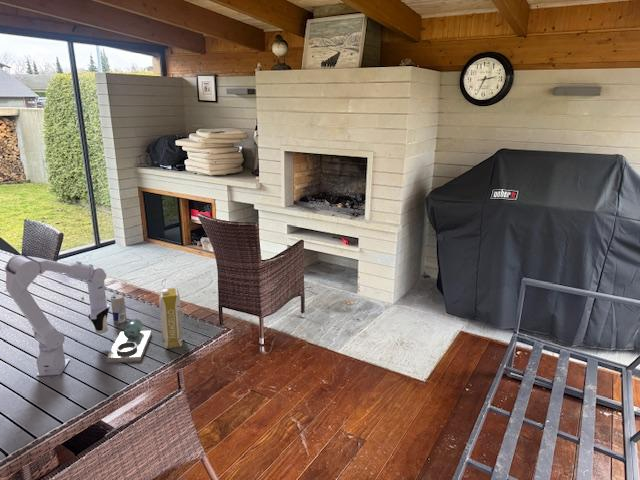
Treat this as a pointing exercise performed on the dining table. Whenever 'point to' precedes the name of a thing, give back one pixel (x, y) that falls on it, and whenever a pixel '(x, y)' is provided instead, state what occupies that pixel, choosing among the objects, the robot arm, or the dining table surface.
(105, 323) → the cream capsule cylinder
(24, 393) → the dining table surface
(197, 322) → the dining table surface
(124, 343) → the motor mount
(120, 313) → the energy drink
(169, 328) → the juice carton
